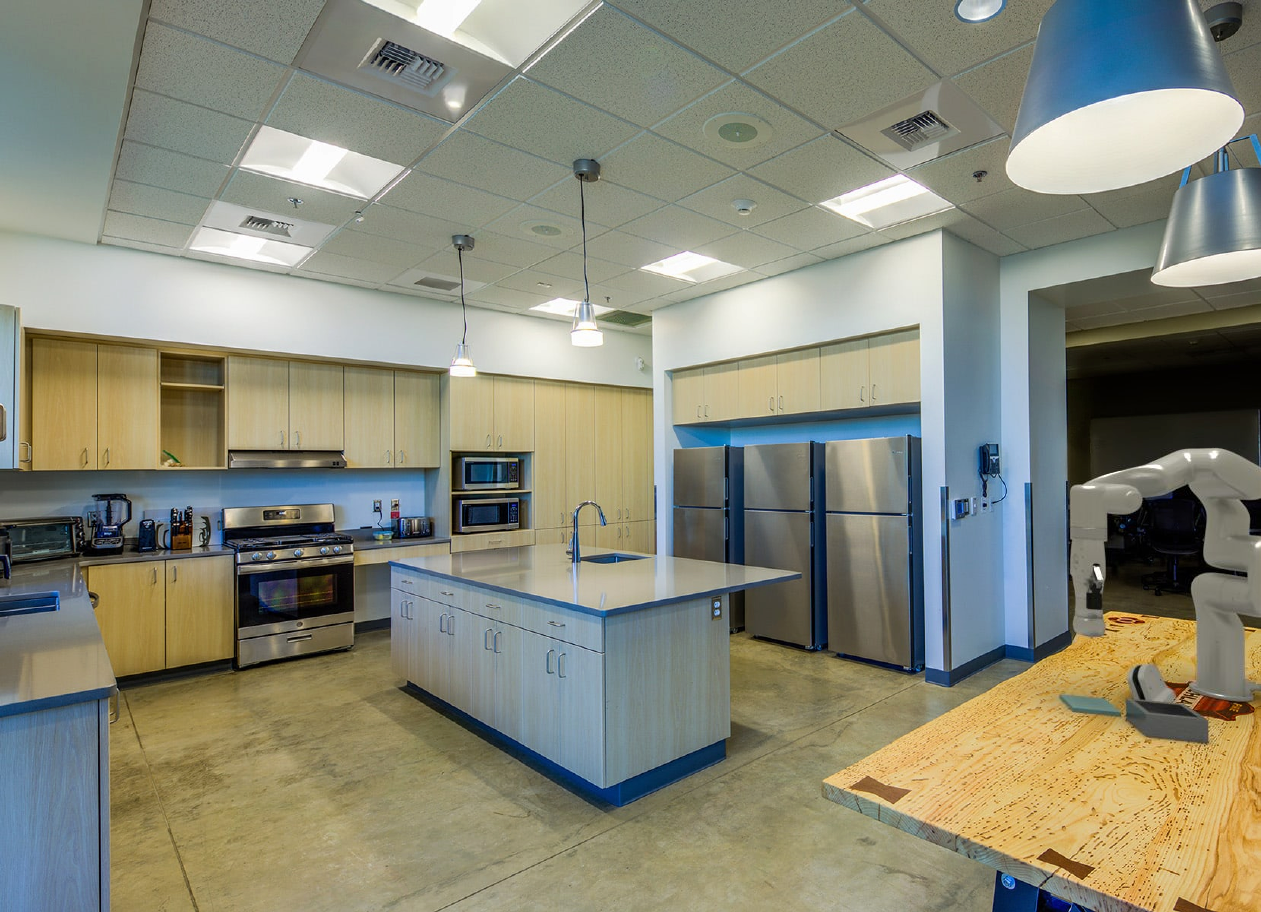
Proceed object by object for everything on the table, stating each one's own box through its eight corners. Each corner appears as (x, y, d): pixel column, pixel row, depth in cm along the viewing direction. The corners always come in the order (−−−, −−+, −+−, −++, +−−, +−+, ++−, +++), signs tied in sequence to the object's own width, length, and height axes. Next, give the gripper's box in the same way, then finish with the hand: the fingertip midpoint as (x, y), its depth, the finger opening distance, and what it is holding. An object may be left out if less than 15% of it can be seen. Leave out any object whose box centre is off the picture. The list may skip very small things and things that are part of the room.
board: (1104, 702, 167) (1104, 698, 167) (1121, 716, 157) (1121, 712, 157) (1059, 698, 170) (1059, 694, 170) (1073, 711, 160) (1073, 707, 160)
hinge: (1162, 712, 160) (1144, 670, 163) (1139, 714, 163) (1122, 672, 166) (1176, 697, 171) (1160, 658, 173) (1155, 698, 174) (1139, 660, 177)
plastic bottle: (1106, 641, 159) (1106, 558, 159) (1073, 637, 163) (1072, 556, 163) (1104, 635, 165) (1104, 555, 165) (1072, 631, 168) (1071, 553, 168)
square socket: (1183, 725, 152) (1183, 703, 152) (1208, 743, 142) (1208, 720, 142) (1125, 719, 155) (1125, 698, 155) (1146, 736, 145) (1145, 714, 145)
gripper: (1059, 530, 173) (1060, 599, 173) (1083, 537, 157) (1084, 613, 157) (1092, 531, 171) (1093, 600, 171) (1120, 538, 155) (1121, 615, 154)
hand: (1089, 605), depth 164 cm, fingers closed on plastic bottle, 6 cm apart
